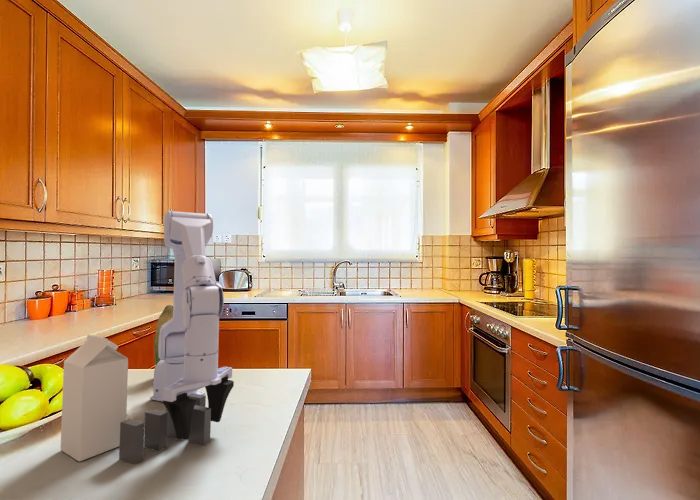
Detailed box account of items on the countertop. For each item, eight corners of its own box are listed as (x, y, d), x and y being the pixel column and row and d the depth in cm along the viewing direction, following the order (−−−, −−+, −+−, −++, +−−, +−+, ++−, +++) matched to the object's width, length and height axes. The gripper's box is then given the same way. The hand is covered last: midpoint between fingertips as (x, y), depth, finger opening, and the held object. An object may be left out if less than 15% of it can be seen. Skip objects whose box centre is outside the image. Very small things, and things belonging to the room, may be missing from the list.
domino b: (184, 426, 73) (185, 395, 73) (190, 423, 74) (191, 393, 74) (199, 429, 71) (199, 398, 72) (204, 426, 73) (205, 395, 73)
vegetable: (182, 377, 104) (184, 305, 105) (159, 382, 99) (162, 307, 100) (172, 372, 108) (174, 303, 109) (149, 377, 103) (151, 305, 104)
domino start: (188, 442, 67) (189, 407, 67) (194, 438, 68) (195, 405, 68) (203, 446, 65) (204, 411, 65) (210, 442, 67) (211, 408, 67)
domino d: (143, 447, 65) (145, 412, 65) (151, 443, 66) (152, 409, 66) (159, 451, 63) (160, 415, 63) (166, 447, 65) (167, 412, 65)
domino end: (119, 459, 60) (120, 422, 61) (127, 455, 62) (129, 418, 62) (134, 464, 59) (135, 426, 59) (143, 460, 60) (144, 422, 61)
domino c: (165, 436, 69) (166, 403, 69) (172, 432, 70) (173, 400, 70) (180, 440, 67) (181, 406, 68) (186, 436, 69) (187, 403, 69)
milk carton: (79, 463, 59) (83, 342, 60) (59, 450, 63) (64, 337, 64) (125, 444, 65) (129, 335, 66) (105, 434, 69) (109, 331, 70)
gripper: (186, 364, 59) (184, 452, 58) (245, 346, 72) (243, 417, 72) (154, 359, 62) (151, 443, 61) (216, 343, 75) (215, 411, 74)
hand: (199, 429), depth 67 cm, fingers open, 7 cm apart
